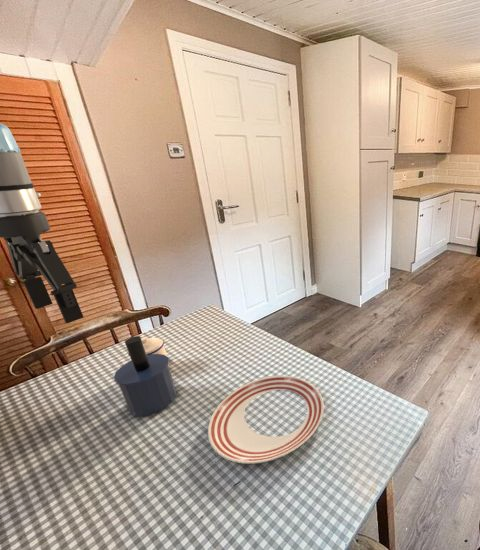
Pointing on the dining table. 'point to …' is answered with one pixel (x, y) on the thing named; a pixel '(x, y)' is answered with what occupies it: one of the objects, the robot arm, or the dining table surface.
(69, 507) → the dining table surface
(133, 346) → the pot lid
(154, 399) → the dark grey canister
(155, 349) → the teacup with lid
